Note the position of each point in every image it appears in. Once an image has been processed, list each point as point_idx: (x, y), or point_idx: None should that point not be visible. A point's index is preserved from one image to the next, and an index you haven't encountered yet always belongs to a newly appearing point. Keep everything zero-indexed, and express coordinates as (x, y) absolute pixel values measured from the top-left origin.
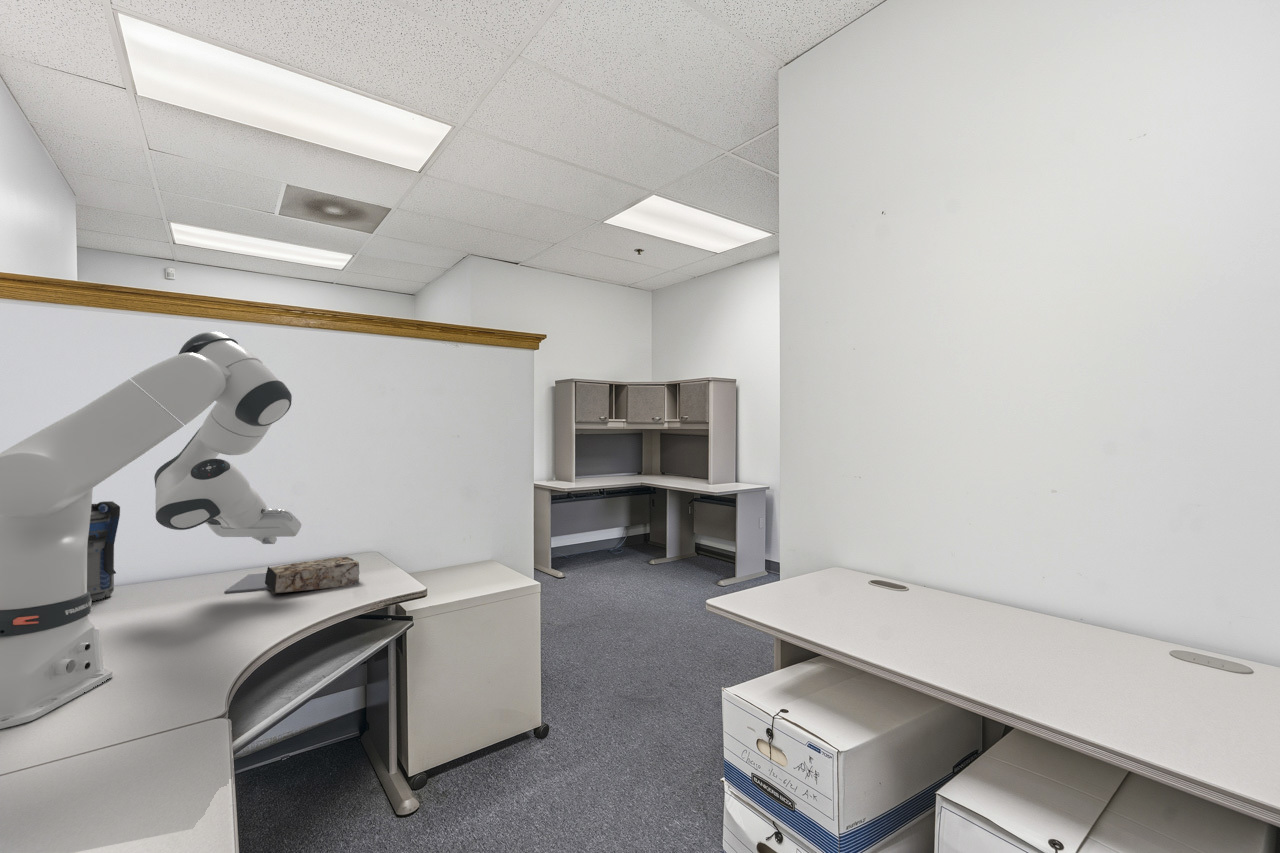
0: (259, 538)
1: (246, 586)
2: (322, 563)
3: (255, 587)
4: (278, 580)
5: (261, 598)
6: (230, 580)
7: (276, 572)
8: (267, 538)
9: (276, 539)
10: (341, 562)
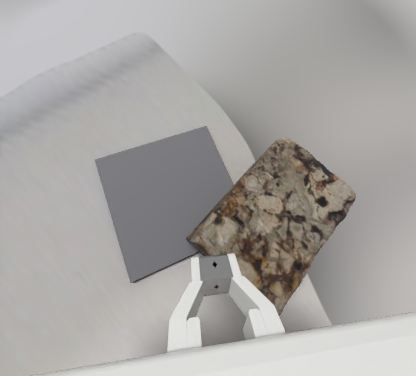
0: (196, 311)
1: (152, 245)
2: (292, 204)
3: (175, 251)
4: None
5: (228, 306)
6: (77, 188)
7: None
8: (218, 287)
9: (233, 255)
10: (325, 196)
